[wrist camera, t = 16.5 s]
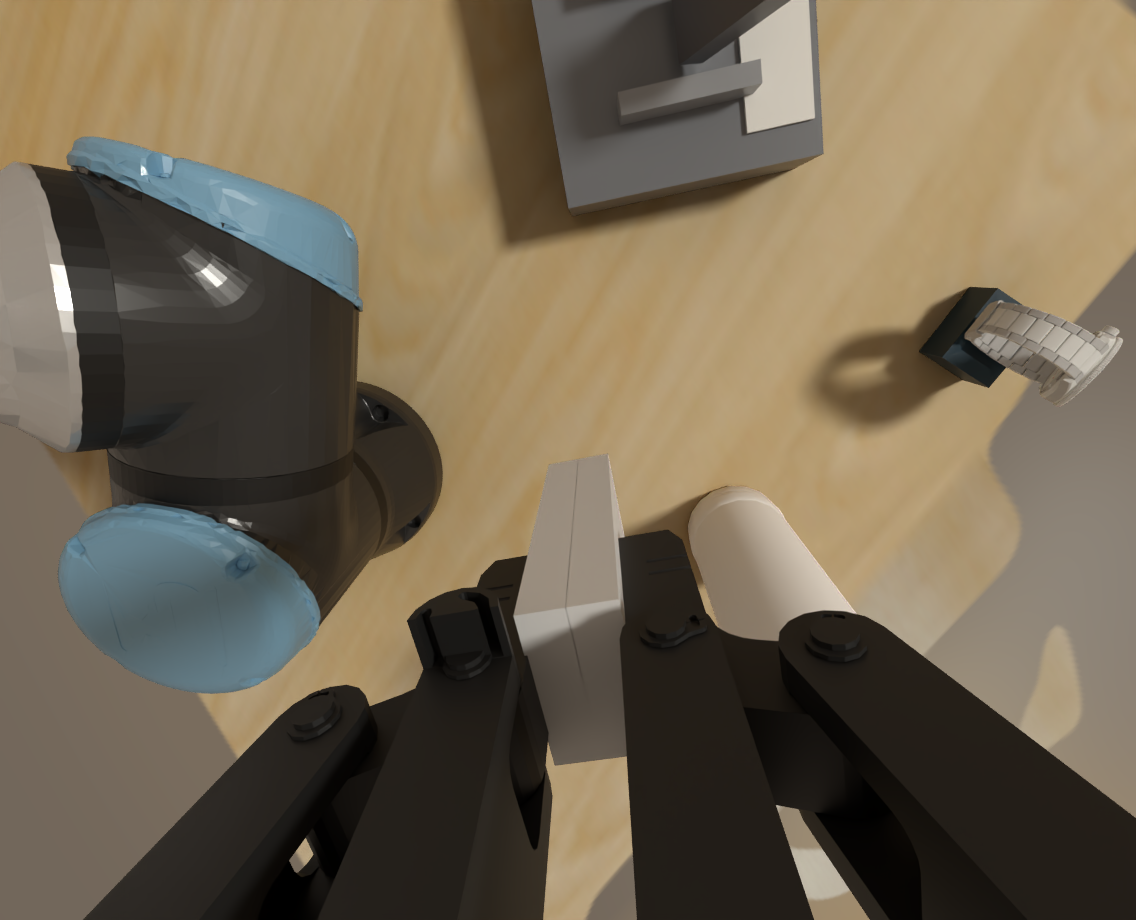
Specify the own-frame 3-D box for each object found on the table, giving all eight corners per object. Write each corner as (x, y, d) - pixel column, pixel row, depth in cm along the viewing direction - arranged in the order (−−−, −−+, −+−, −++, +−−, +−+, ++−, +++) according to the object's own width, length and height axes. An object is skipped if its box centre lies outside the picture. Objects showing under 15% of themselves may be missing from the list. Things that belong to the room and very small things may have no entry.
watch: (982, 392, 45) (1099, 430, 34) (900, 339, 44) (995, 361, 33) (1035, 329, 43) (1175, 348, 33) (952, 273, 42) (1068, 274, 32)
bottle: (745, 465, 48) (965, 756, 19) (797, 532, 49) (1072, 891, 21) (667, 520, 49) (763, 859, 21) (721, 583, 51) (876, 976, 23)
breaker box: (572, 216, 42) (566, 204, 35) (526, -45, 37) (508, -125, 30) (793, 168, 40) (839, 145, 33) (775, -111, 36) (824, -213, 28)
